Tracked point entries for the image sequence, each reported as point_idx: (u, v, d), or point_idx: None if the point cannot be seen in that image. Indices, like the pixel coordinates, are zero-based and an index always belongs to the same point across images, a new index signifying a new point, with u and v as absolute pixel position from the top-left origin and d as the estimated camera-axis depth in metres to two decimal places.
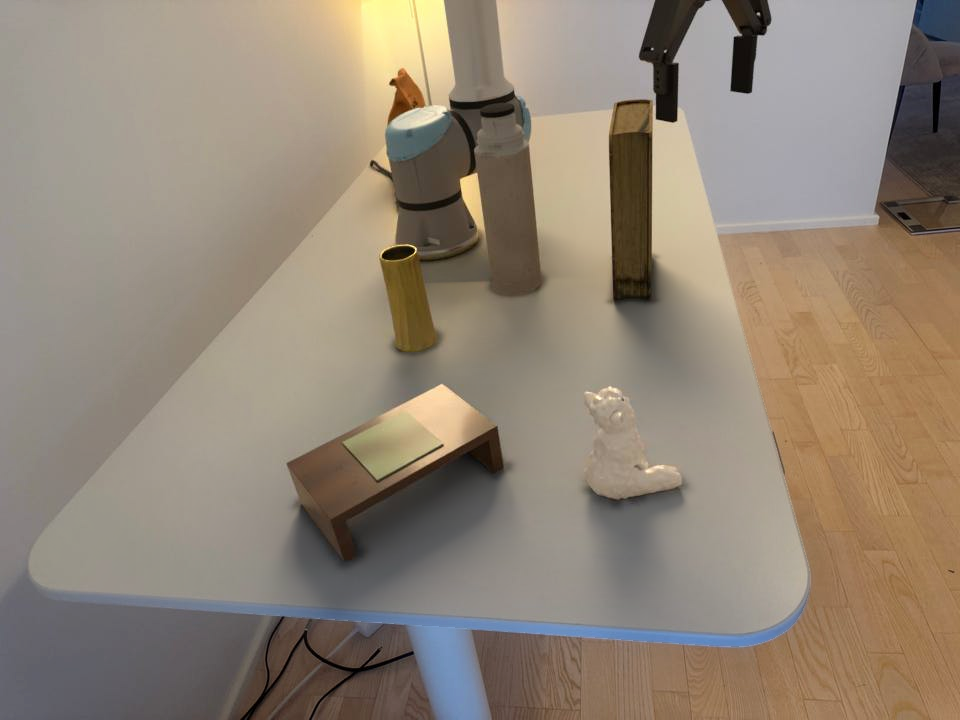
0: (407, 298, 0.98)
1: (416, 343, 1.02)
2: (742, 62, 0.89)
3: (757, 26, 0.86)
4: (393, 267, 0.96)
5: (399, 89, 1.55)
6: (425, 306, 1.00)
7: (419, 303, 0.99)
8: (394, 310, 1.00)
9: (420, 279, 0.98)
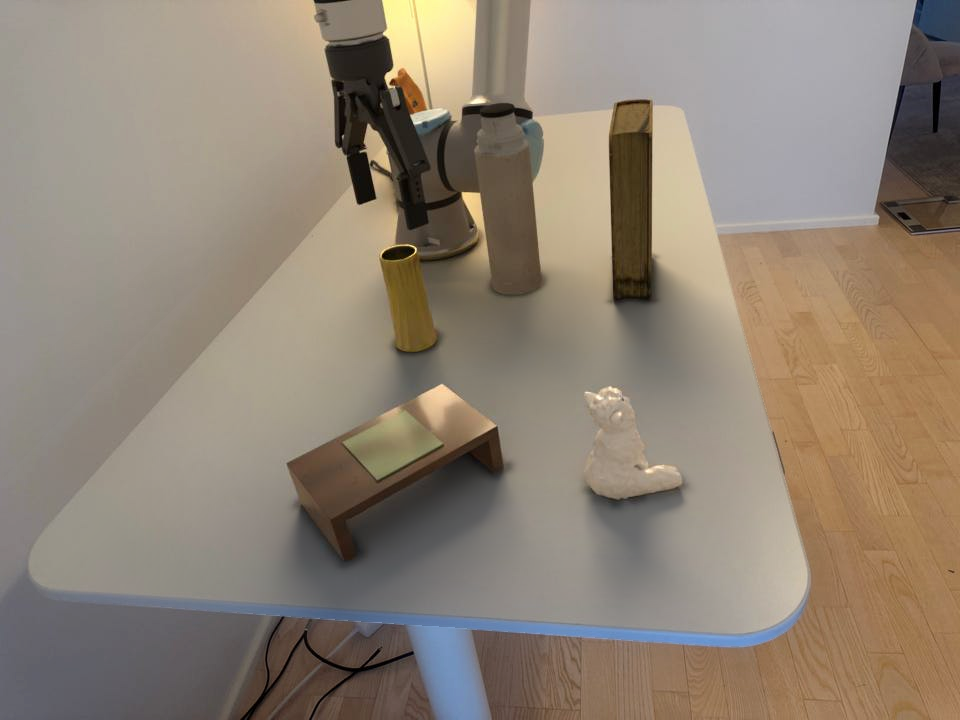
0: (407, 298, 0.98)
1: (416, 343, 1.02)
2: None
3: (401, 170, 0.84)
4: (393, 267, 0.96)
5: None
6: (425, 306, 1.00)
7: (419, 303, 0.99)
8: (394, 310, 1.00)
9: (420, 279, 0.98)
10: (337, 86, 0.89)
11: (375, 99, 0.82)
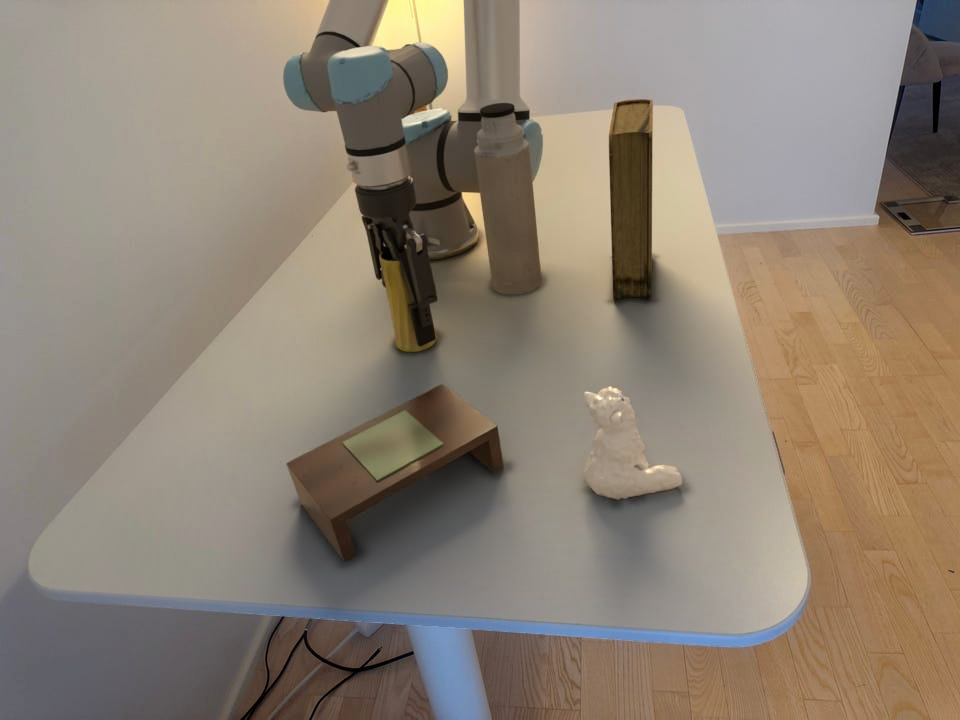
0: (407, 298, 0.98)
1: (416, 343, 1.02)
2: None
3: (412, 299, 0.96)
4: (393, 267, 0.96)
5: None
6: None
7: None
8: (394, 310, 1.00)
9: None
10: (366, 220, 0.99)
11: (400, 234, 0.92)
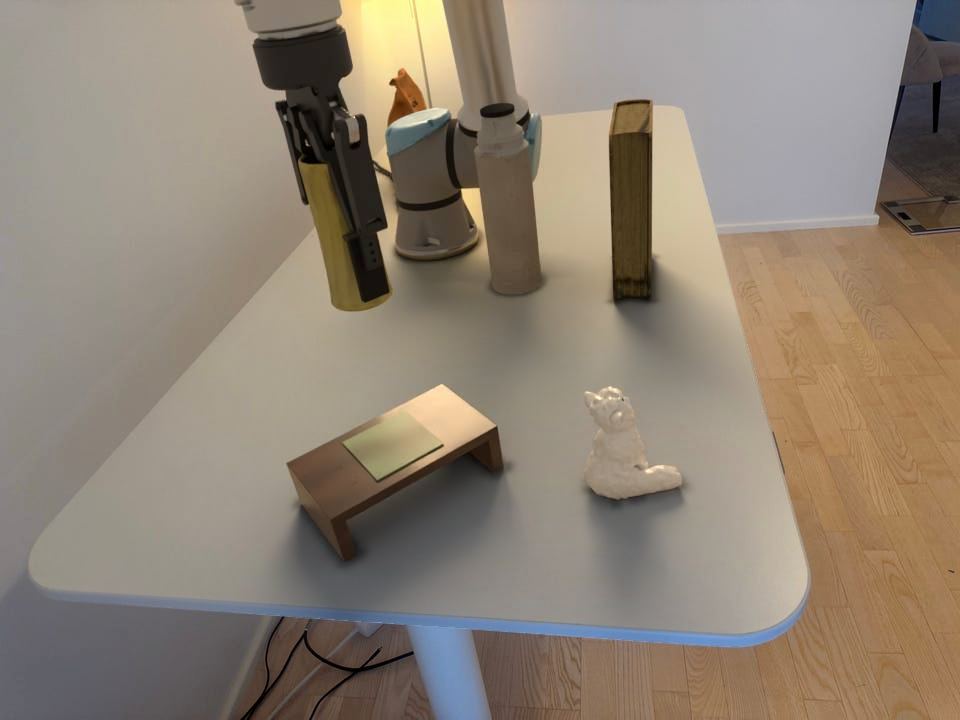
0: (343, 225, 0.64)
1: (359, 298, 0.68)
2: None
3: (349, 227, 0.62)
4: (318, 175, 0.61)
5: (399, 89, 1.55)
6: None
7: None
8: (324, 246, 0.65)
9: None
10: (282, 107, 0.64)
11: (325, 116, 0.57)
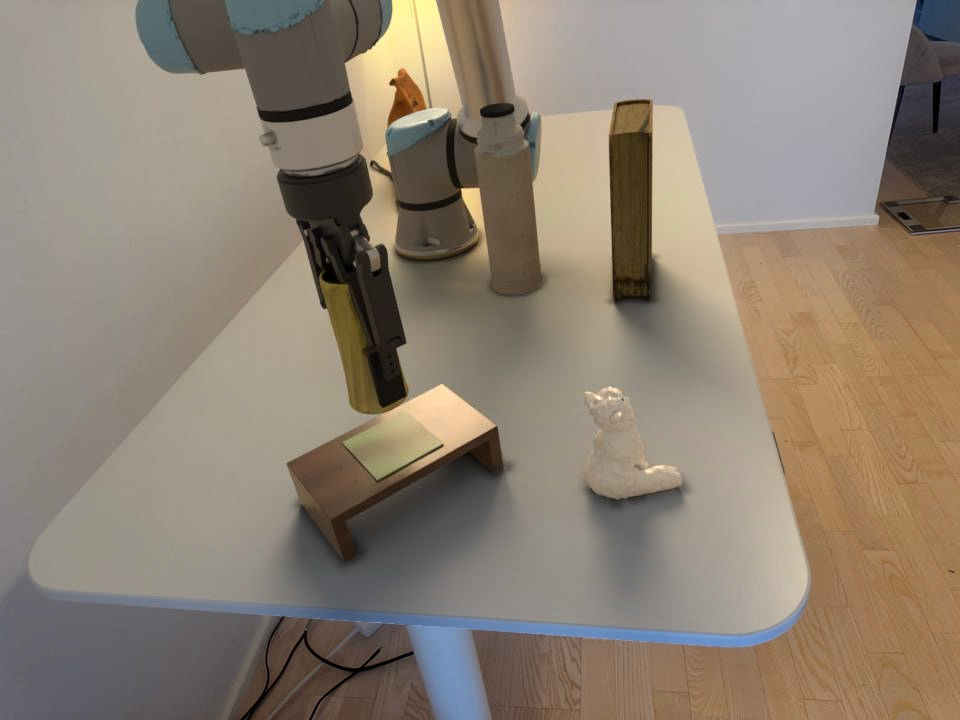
0: (362, 338, 0.66)
1: (377, 402, 0.70)
2: None
3: (369, 342, 0.64)
4: (338, 294, 0.64)
5: (399, 89, 1.55)
6: None
7: None
8: (344, 355, 0.68)
9: None
10: (302, 223, 0.67)
11: (347, 245, 0.60)
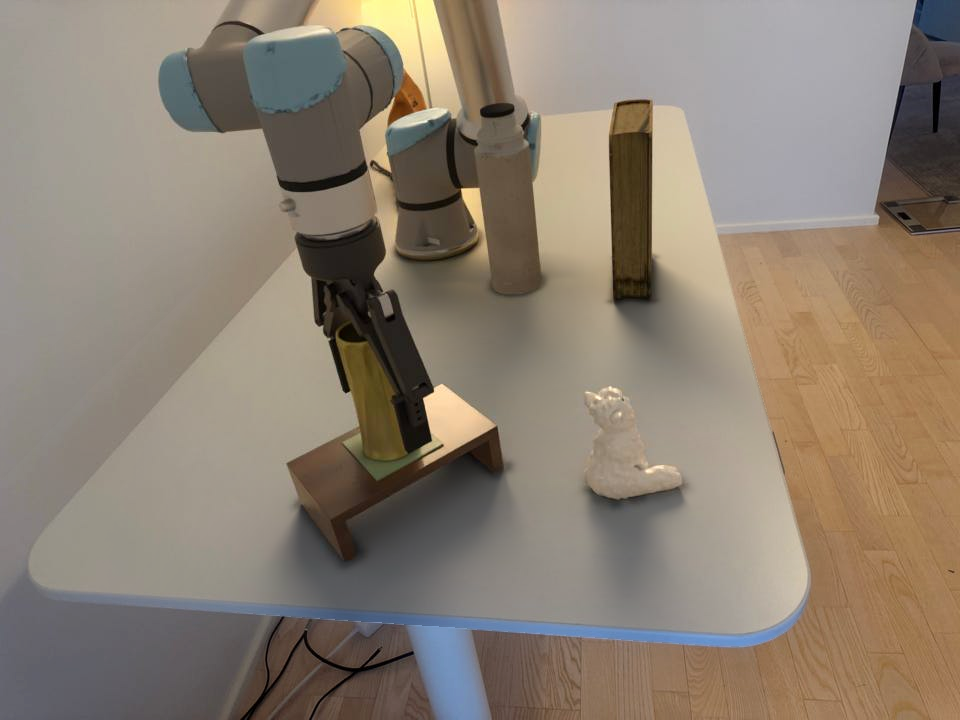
0: (376, 392, 0.69)
1: (389, 450, 0.73)
2: None
3: (396, 390, 0.64)
4: (354, 351, 0.67)
5: None
6: None
7: None
8: (358, 407, 0.71)
9: None
10: None
11: (361, 303, 0.63)
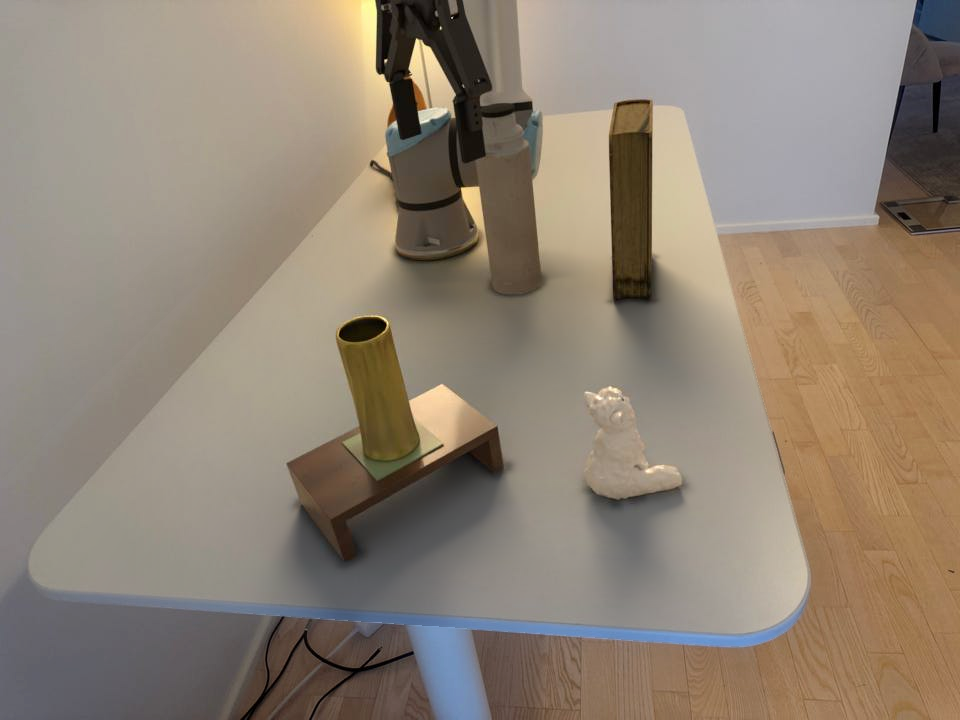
0: (376, 392, 0.69)
1: (389, 450, 0.73)
2: None
3: (457, 91, 0.73)
4: (354, 351, 0.67)
5: None
6: (401, 400, 0.72)
7: (393, 397, 0.71)
8: (358, 407, 0.71)
9: (394, 365, 0.70)
10: None
11: (428, 7, 0.71)
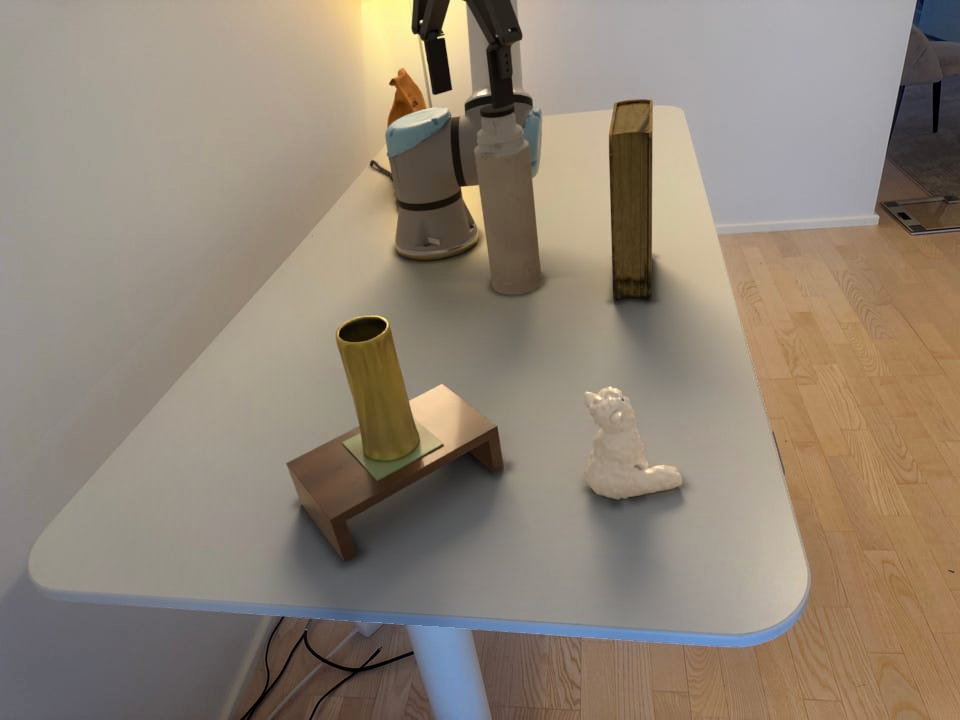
0: (376, 392, 0.69)
1: (389, 450, 0.73)
2: None
3: (491, 40, 0.81)
4: (354, 351, 0.67)
5: (399, 89, 1.55)
6: (401, 400, 0.72)
7: (393, 397, 0.71)
8: (358, 407, 0.71)
9: (394, 365, 0.70)
10: None
11: None
